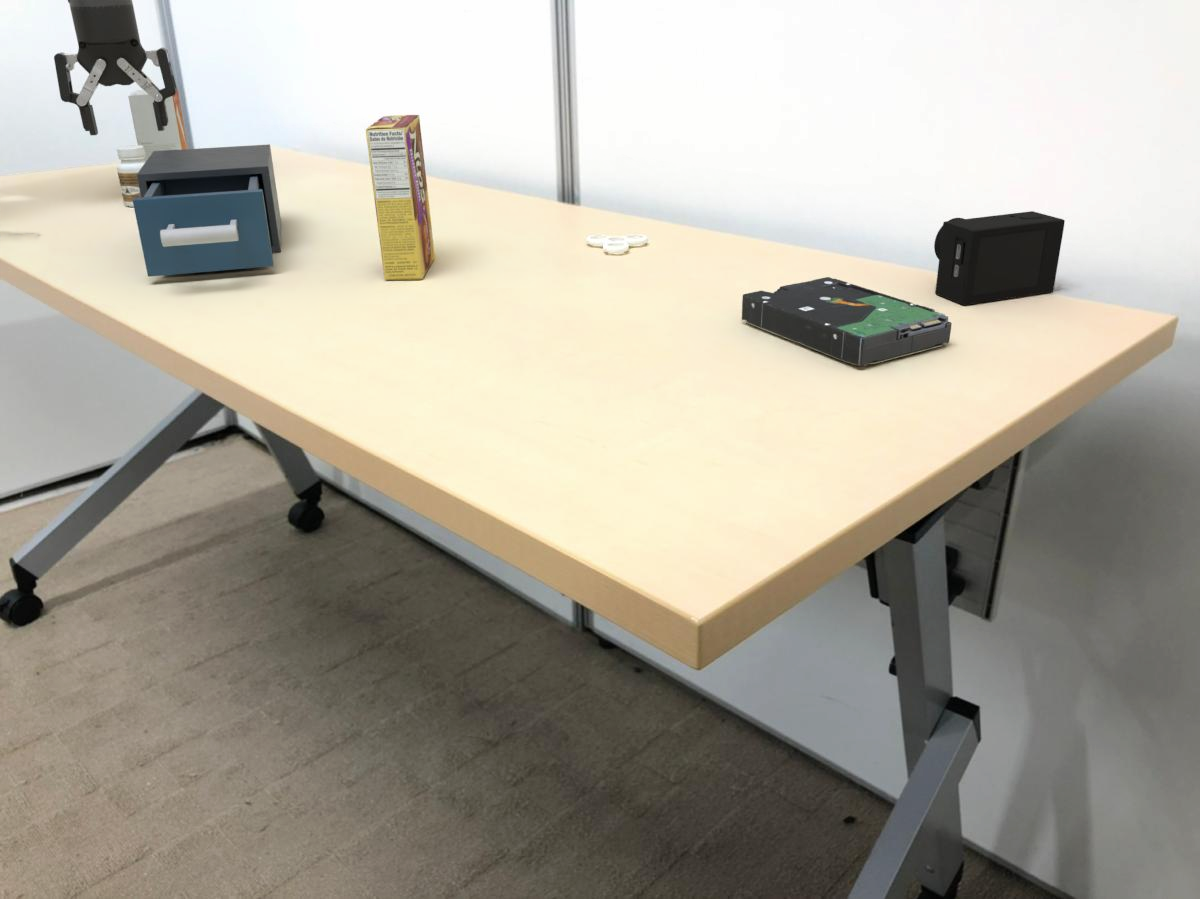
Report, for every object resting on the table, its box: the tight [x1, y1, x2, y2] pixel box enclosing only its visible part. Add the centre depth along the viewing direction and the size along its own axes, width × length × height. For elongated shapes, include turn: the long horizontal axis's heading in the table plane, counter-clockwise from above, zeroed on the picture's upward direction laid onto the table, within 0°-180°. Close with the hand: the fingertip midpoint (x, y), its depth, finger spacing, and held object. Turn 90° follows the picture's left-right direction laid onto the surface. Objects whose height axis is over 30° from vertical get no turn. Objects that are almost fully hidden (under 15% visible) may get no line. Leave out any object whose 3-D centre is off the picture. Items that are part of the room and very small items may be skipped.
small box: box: [128, 88, 189, 161], centre depth 162 cm, size 8×6×13 cm
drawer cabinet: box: [137, 144, 282, 253], centre depth 124 cm, size 17×14×10 cm
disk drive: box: [741, 276, 953, 367], centre depth 90 cm, size 10×3×15 cm
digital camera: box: [933, 210, 1066, 306], centre depth 99 cm, size 10×5×7 cm, turn 111°
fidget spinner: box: [585, 233, 649, 254], centre depth 120 cm, size 7×6×1 cm
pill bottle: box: [116, 144, 146, 208], centre depth 146 cm, size 4×4×8 cm
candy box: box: [365, 114, 436, 281], centre depth 109 cm, size 9×4×15 cm, turn 0°
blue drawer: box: [133, 174, 274, 278], centre depth 113 cm, size 21×12×8 cm, turn 15°
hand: (128, 132), depth 143 cm, fingers open, 8 cm apart
